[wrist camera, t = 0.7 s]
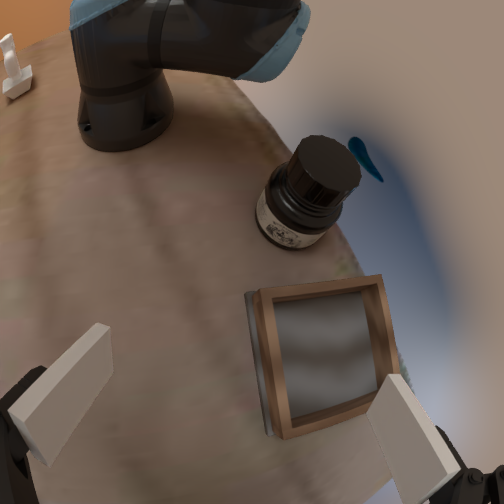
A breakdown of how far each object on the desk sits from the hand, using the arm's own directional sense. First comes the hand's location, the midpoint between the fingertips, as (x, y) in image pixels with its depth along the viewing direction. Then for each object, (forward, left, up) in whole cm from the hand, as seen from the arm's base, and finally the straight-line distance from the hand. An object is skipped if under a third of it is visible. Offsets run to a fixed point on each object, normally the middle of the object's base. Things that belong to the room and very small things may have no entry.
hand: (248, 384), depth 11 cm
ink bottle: (-16, +11, -17) cm, 26 cm away
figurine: (-51, -39, -17) cm, 66 cm away
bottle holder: (+1, +12, -17) cm, 21 cm away
